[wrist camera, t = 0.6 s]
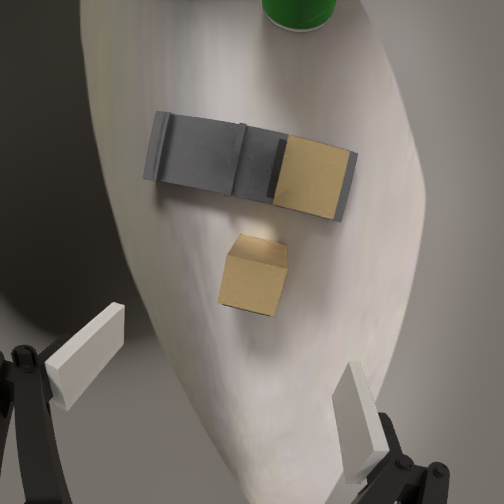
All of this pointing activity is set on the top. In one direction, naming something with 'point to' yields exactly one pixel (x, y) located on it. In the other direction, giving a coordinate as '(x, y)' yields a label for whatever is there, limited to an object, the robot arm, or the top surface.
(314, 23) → the soda can
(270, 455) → the top surface
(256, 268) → the tan rectangular block
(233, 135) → the rail
